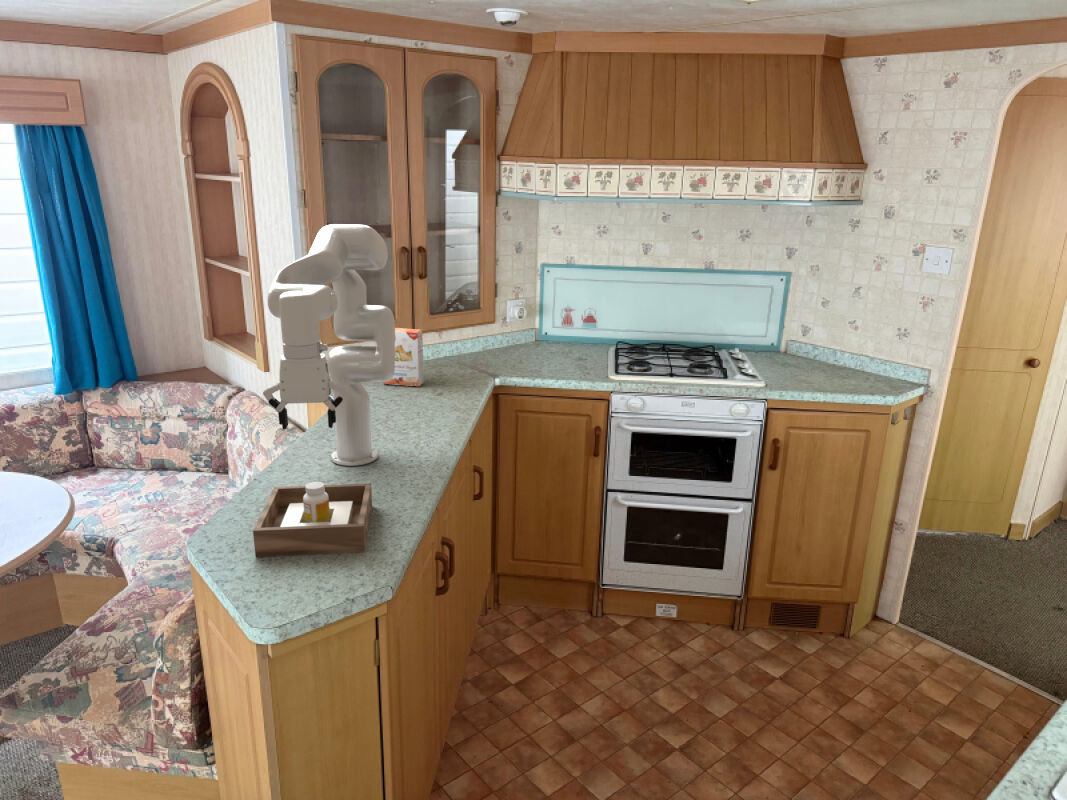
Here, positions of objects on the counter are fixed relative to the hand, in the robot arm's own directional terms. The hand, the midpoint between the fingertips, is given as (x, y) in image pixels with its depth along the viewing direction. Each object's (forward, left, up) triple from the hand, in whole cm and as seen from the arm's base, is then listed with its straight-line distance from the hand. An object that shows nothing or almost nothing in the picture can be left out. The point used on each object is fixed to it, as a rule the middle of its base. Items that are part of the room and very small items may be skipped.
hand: (308, 426), depth 162 cm
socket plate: (+4, +1, -23) cm, 23 cm away
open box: (+4, +1, -23) cm, 23 cm away
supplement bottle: (+4, +1, -22) cm, 22 cm away
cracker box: (-112, +16, -23) cm, 116 cm away
